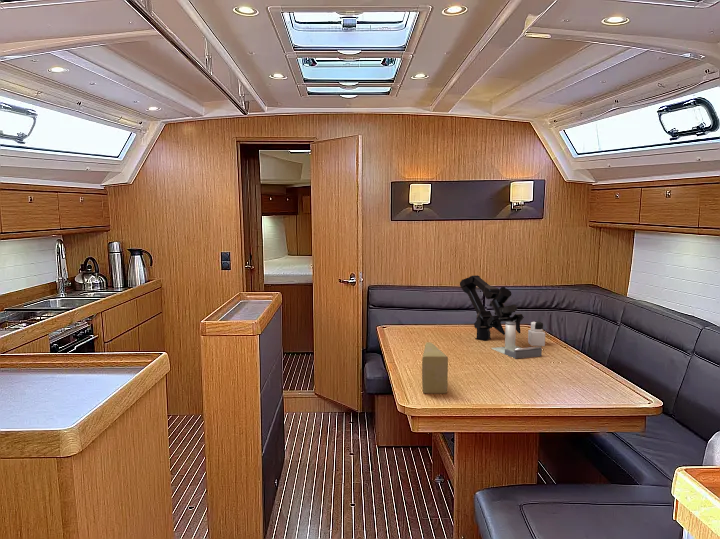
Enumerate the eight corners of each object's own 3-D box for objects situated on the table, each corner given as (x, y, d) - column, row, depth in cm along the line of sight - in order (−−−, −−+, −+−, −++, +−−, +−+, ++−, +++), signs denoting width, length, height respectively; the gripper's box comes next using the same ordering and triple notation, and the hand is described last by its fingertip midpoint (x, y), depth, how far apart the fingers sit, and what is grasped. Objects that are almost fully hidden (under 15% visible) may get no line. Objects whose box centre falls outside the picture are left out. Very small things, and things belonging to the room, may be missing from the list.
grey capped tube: (503, 349, 247) (504, 322, 246) (507, 347, 251) (507, 320, 250) (512, 351, 244) (513, 323, 243) (516, 349, 248) (517, 322, 247)
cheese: (416, 375, 207) (416, 340, 206) (439, 375, 207) (440, 341, 206) (422, 393, 185) (422, 355, 184) (447, 394, 185) (448, 355, 183)
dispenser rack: (504, 354, 240) (504, 345, 239) (530, 351, 244) (530, 342, 244) (515, 359, 232) (515, 349, 231) (541, 356, 236) (541, 346, 236)
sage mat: (491, 348, 250) (491, 348, 250) (515, 346, 255) (515, 345, 255) (504, 354, 240) (504, 353, 240) (529, 351, 245) (529, 350, 245)
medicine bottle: (541, 342, 262) (542, 320, 261) (545, 346, 255) (545, 323, 254) (527, 342, 263) (528, 320, 262) (530, 345, 256) (531, 323, 255)
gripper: (491, 300, 246) (503, 326, 237) (522, 298, 252) (535, 323, 243) (481, 312, 254) (493, 338, 245) (512, 310, 260) (524, 335, 251)
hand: (512, 333), depth 246 cm, fingers open, 9 cm apart
